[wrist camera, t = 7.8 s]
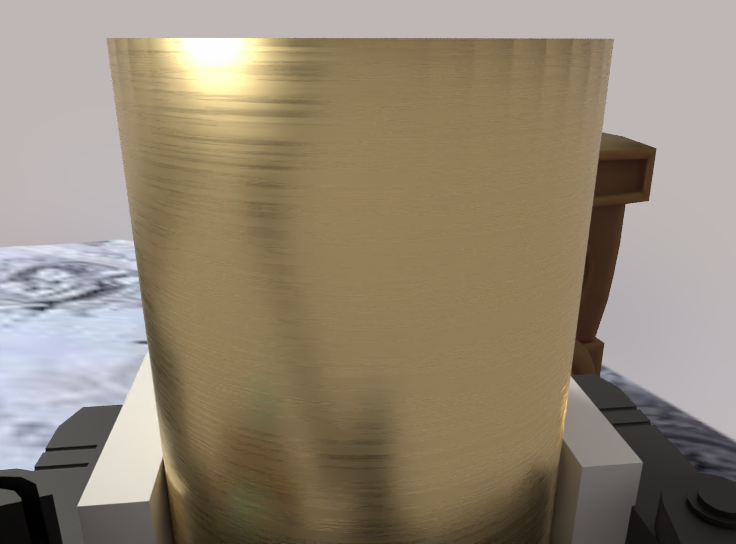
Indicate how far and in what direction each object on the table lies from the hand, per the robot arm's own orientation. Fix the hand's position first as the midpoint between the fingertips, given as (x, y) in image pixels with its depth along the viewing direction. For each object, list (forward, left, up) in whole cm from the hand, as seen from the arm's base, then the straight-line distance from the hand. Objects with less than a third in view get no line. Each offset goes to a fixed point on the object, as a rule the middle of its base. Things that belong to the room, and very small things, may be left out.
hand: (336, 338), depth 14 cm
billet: (+3, -4, -8) cm, 9 cm away
